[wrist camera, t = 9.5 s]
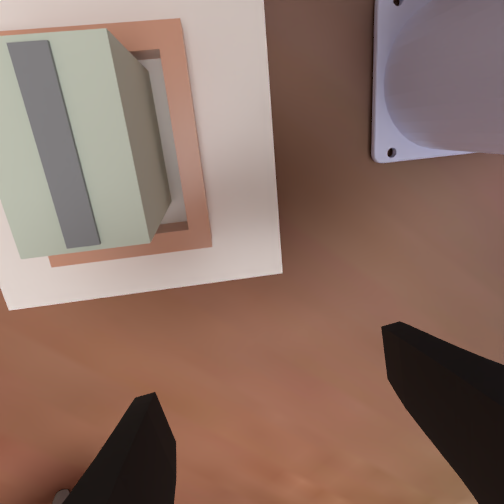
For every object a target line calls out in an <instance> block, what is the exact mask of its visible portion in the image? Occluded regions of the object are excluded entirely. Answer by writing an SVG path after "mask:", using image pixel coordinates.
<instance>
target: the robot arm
mask: <svg viewBox="0 0 504 504" xmlns="http://www.w3.org/2000/svg"><path fill="white" fill-rule="evenodd" d="M390 148H392V150H393V153H392V155H391V156H390V157H388V155H387V152H388V150H389V149H390ZM477 152H479V153H492V154H504V0H399V6H395V4H394V3H393V0H375V14H374V58H373V101H372V144H371V156H372V159H373V160H374V161H375V162H377V163H388V162H397V161H406V160H415V159H424V158H433V157H441V156H450V155H459V154H468V153H477ZM381 328H382V336H383V345H384V353H385V361H386V369H387V378H388V380H389V382H390V384H391V385H392V387H393V389H394V390H395V392H396V394H397V395H398V397H399V399H400V400H401V402H402V403H403V405H404V406H405V408H406V409H407V411H408V412H409V413H410V415H411V416H412V417H413V418H414V420H415V421H416V422H417V424H418V425H419V426H420V427H421V429H422V430H423V431H424V433H425V434H426V435H427V436H428V438H429V439H430V440H431V441H432V443H433V444H434V445H435V446H436V448H437V449H438V450H439V452H440V453H441V454H442V455H443V457H444V458H445V459H446V460H447V462H448V463H449V464H450V465H451V467H452V468H453V469H454V470H455V472H456V473H457V474H458V476H459V477H460V478H461V479H462V481H463V482H464V484H465V485H466V486H467V488H468V489H469V490H470V492H471V493H472V495H473V496H474V497H475V499H476V500H477V502H478V504H504V365H502V364H500V363H497V362H494V361H492V360H489V359H486V358H484V357H481V356H479V355H476V354H474V353H471V352H469V351H467V350H464V349H462V348H459V347H457V346H455V345H452V344H450V343H448V342H446V341H443V340H441V339H439V338H437V337H434V336H432V335H430V334H428V333H425V332H423V331H421V330H419V329H417V328H414V327H412V326H410V325H407V324H405V323H403V322H396V323H393V324H389V325H386V326H382V327H381ZM175 486H176V441H175V439H174V436H173V434H172V431H171V429H170V427H169V424H168V422H167V419H166V417H165V415H164V412H163V410H162V407H161V405H160V402H159V400H158V398H157V395H156V393H155V392H154V393H150V394H147V395H143V396H140V397H136V398H135V399H134V400H133V402H132V403H131V405H130V406H129V408H128V409H127V411H126V412H125V414H124V416H123V417H122V419H121V420H120V422H119V423H118V425H117V426H116V428H115V429H114V431H113V432H112V434H111V435H110V437H109V438H108V440H107V441H106V443H105V444H104V446H103V447H102V449H101V450H100V452H99V453H98V455H97V456H96V458H95V459H94V461H93V462H92V463H91V465H90V466H89V468H88V469H87V470H86V472H85V473H84V474H83V476H82V477H81V479H80V480H79V481H78V483H77V484H76V485H75V487H74V488H73V489H72V491H71V492H70V494H69V495H68V496H67V498H66V499H65V500H64V502H63V503H62V504H174V496H175Z"/></svg>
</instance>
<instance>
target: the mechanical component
mask: <svg viewBox="0 0 504 504" xmlns="http://www.w3.org/2000/svg"><path fill="white" fill-rule="evenodd" d="M68 495H69V491H68V489H64V490H61V491H59V492H57V493H56V495H55V497H54V500H53V502H52V504H62V503H63V502H64V500H65V499H66V498H67V496H68Z"/></svg>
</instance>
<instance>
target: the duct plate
mask: <svg viewBox="0 0 504 504" xmlns="http://www.w3.org/2000/svg"><path fill="white" fill-rule="evenodd" d="M101 28H107V29H108V30H109V31H110V33H111V34H112V35H113V36H114V37H115V38H116V39H117V40H118V41H119V42H120V43H121V44H122V45H123V46H124V47H125V48H126V49H127V50H128V51H129V52H130V53H131V54H132V55H133V56H134V57H135V58H136V59H137V60H138V61H139V62H140V63H141V64H142V65H143V66H144V67H145V68H146V69H147V70H148V71H149V75H150V81H151V87H152V93H153V98H154V104H155V110H156V115H157V121H158V127H159V132H160V138H161V144H162V150H163V155H164V161H165V167H166V172H167V178H168V184H169V189H170V195H171V201H172V202H171V204H170V206H169V208H168V210H167V212H166V214H165V216H164V218H163V220H162V221H161V223H160V225H159V227H158V229H157V231H156V233H155V235H154V237H153V239H152V241H151V243H148V244H140V245H132V246H124V247H116V248H108V249H100V250H92V251H84V252H76V253H68V254H60V255H52V256H44V257H36V258H28V259H21V258H20V255H19V252H18V249H17V246H16V244H15V241H14V238H13V235H12V232H11V229H10V226H9V223H8V220H7V218H6V215H5V212H4V209H3V206H2V203H1V200H0V288H1V290H2V293H3V296H4V298H5V301H6V304H7V306H8V309H9V310H16V309H24V308H31V307H38V306H46V305H53V304H60V303H68V302H75V301H82V300H90V299H97V298H104V297H112V296H119V295H126V294H134V293H141V292H148V291H156V290H163V289H170V288H178V287H185V286H192V285H200V284H207V283H214V282H222V281H229V280H236V279H244V278H251V277H258V276H266V275H273V274H280V273H283V272H282V257H281V243H280V229H279V214H278V200H277V186H276V171H275V157H274V142H273V128H272V114H271V99H270V85H269V70H268V56H267V42H266V27H265V13H264V0H0V36H5V35H19V34H33V33H46V32H60V31H74V30H87V29H101Z"/></svg>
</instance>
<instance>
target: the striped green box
mask: <svg viewBox="0 0 504 504" xmlns="http://www.w3.org/2000/svg"><path fill="white" fill-rule="evenodd" d="M0 200H1V203H2V206H3V209H4V212H5V215H6V218H7V220H8V223H9V226H10V229H11V232H12V235H13V238H14V241H15V244H16V246H17V249H18V252H19V255H20V258H21V259H28V258H36V257H44V256H52V255H60V254H68V253H76V252H84V251H92V250H100V249H108V248H116V247H124V246H132V245H140V244H148V243H151V241H152V239H153V237H154V235H155V233H156V231H157V229H158V227H159V225H160V223H161V221H162V220H163V218H164V216H165V214H166V212H167V210H168V208H169V206H170V204H171V202H172V201H171V195H170V189H169V184H168V178H167V172H166V167H165V161H164V155H163V150H162V144H161V138H160V132H159V127H158V121H157V115H156V110H155V104H154V98H153V93H152V87H151V81H150V75H149V71H148V70H147V69H146V68H145V67H144V66H143V65H142V64H141V63H140V62H139V61H138V60H137V59H136V58H135V57H134V56H133V55H132V54H131V53H130V52H129V51H128V50H127V49H126V48H125V47H124V46H123V45H122V44H121V43H120V42H119V41H118V40H117V39H116V38H115V37H114V36H113V35H112V34H111V33H110V31H109V30H108V29H107V28H101V29H87V30H74V31H60V32H46V33H33V34H19V35H5V36H0Z"/></svg>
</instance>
